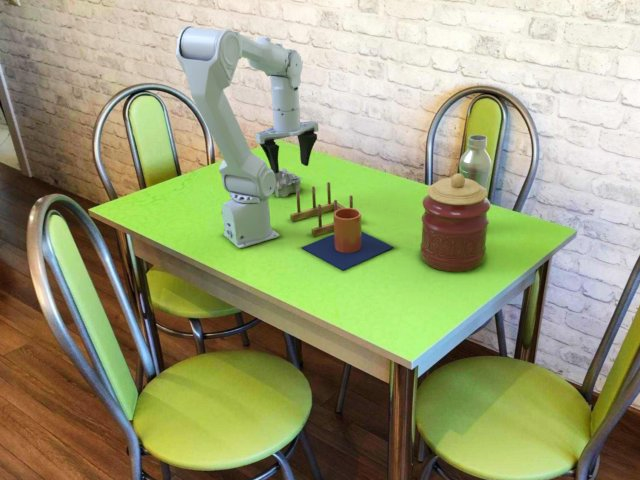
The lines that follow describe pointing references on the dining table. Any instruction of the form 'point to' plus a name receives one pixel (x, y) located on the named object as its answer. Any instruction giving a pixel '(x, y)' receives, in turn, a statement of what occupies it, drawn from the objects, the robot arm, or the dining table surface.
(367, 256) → the cloth
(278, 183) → the egg carton
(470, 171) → the plastic bottle
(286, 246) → the dining table surface
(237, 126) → the robot arm
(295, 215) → the drying rack
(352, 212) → the tumbler
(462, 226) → the kitchen canister
